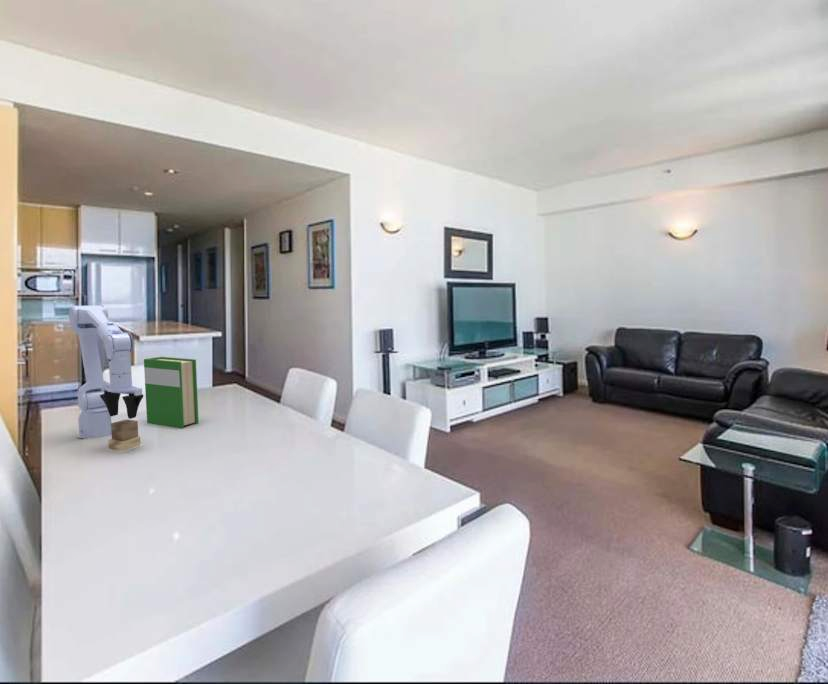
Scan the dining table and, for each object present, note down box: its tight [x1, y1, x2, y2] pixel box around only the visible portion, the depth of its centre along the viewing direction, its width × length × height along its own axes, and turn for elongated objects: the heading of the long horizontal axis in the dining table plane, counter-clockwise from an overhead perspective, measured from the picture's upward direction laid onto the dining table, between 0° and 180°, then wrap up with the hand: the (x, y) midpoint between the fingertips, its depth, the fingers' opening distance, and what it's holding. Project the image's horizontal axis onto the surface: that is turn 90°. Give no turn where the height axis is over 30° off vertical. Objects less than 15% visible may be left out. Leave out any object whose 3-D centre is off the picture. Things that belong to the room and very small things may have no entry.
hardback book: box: [143, 356, 199, 429], centre depth 176 cm, size 18×7×24 cm, turn 67°
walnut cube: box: [110, 419, 139, 441], centre depth 147 cm, size 5×5×5 cm
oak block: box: [107, 435, 142, 452], centre depth 147 cm, size 6×6×3 cm
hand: (123, 416), depth 147 cm, fingers open, 7 cm apart
